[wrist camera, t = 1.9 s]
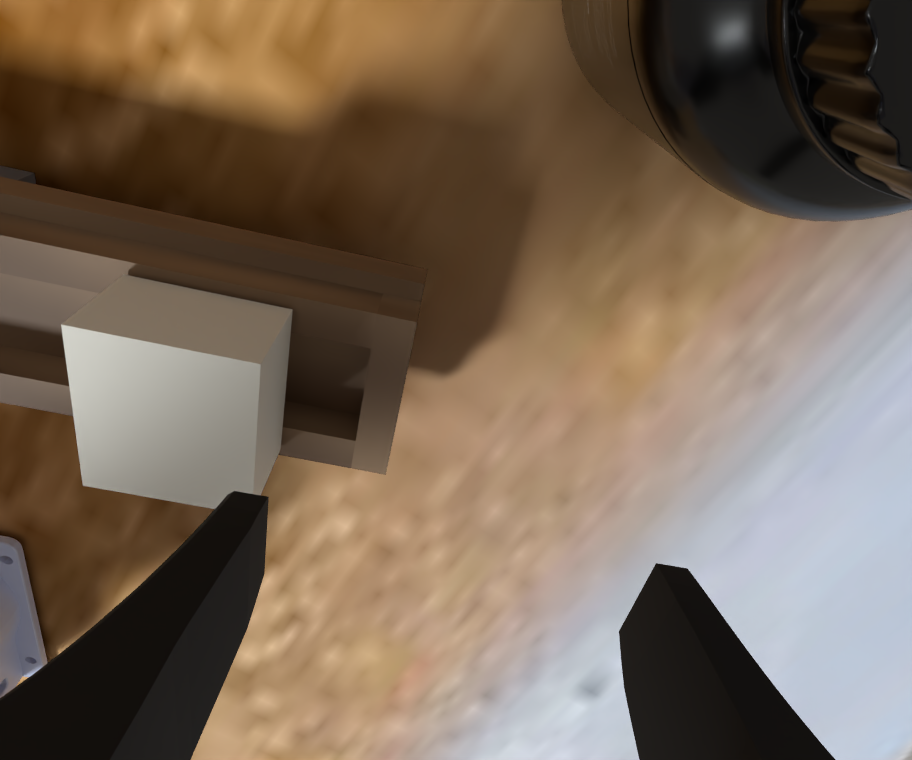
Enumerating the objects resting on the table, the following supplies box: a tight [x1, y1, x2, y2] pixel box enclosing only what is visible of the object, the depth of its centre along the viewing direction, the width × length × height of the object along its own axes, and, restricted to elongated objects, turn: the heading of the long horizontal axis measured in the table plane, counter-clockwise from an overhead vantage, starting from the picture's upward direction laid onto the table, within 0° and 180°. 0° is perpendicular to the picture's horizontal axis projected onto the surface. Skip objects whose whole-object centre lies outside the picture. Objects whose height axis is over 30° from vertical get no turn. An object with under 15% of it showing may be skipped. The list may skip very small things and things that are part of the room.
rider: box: [61, 274, 293, 509], centre depth 16 cm, size 4×4×4 cm
